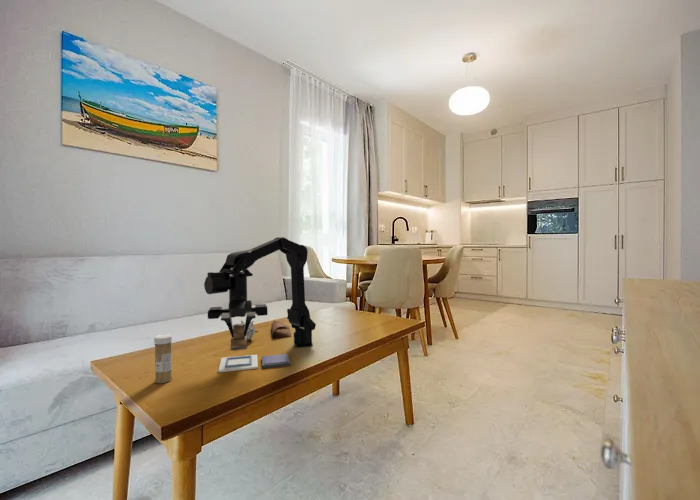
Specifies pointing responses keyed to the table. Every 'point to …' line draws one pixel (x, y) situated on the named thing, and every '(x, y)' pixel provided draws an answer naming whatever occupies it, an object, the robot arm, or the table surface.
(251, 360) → the print card
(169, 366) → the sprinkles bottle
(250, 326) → the game die
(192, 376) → the table surface
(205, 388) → the table surface
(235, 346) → the stamp
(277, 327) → the sunglasses case
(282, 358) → the ink pad
